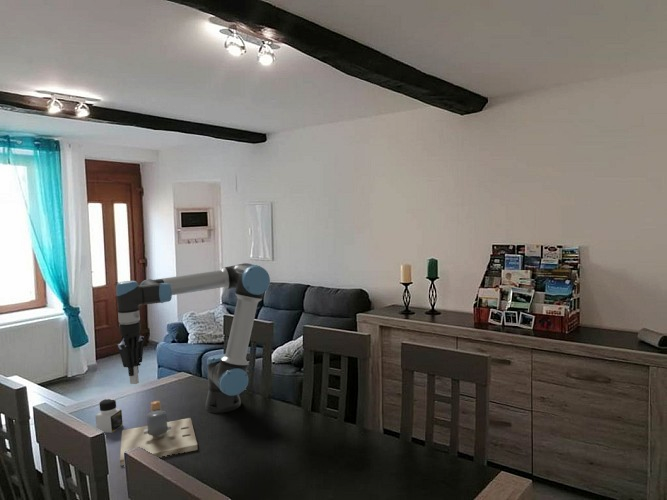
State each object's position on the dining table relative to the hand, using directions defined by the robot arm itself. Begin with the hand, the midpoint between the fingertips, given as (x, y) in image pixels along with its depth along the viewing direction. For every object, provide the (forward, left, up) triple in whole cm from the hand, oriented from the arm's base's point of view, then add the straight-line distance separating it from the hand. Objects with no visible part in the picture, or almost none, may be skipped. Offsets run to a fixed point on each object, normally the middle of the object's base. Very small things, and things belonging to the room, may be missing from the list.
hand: (134, 383), depth 191 cm
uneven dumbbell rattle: (-7, +1, -18) cm, 19 cm away
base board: (-7, +6, -22) cm, 24 cm away
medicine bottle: (+11, -16, -23) cm, 30 cm away
